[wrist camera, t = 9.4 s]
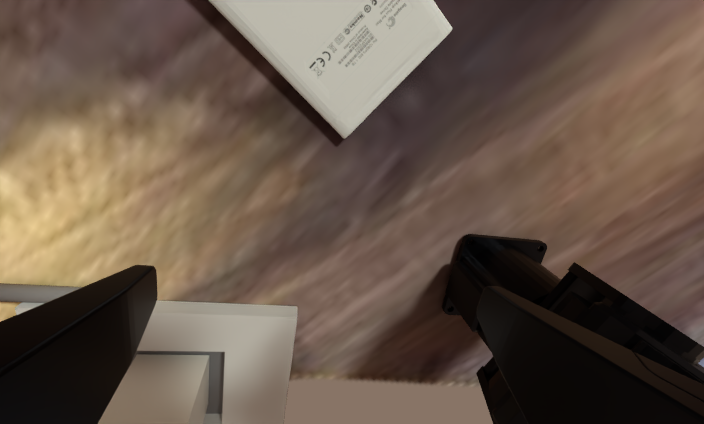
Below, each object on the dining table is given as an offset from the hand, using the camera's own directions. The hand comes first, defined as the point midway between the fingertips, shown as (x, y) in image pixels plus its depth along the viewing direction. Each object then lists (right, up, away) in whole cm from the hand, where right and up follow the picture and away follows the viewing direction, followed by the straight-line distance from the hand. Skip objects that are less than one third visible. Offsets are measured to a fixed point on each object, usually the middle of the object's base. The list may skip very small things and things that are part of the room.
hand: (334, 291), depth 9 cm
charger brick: (-12, -10, +15) cm, 21 cm away
